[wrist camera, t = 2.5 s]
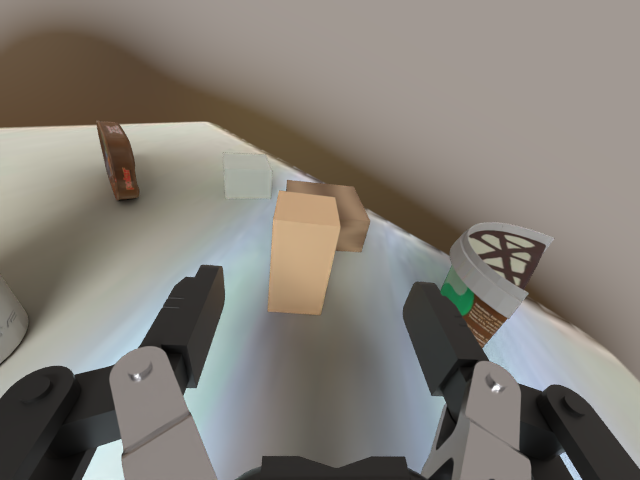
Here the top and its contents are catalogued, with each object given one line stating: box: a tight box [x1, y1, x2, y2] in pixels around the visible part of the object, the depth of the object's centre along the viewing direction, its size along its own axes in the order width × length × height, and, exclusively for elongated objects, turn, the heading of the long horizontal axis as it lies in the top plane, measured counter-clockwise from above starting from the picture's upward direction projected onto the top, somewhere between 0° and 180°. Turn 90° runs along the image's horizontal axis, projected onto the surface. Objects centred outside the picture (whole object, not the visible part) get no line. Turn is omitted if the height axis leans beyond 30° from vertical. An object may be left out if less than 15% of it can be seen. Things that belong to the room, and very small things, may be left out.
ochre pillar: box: [268, 191, 341, 315], centre depth 25 cm, size 5×5×10 cm
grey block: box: [223, 152, 272, 199], centre depth 44 cm, size 7×7×5 cm
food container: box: [440, 222, 554, 348], centre depth 25 cm, size 12×6×10 cm, turn 135°
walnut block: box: [286, 180, 370, 252], centre depth 37 cm, size 10×10×5 cm
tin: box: [96, 120, 139, 200], centre depth 38 cm, size 15×3×8 cm, turn 37°
